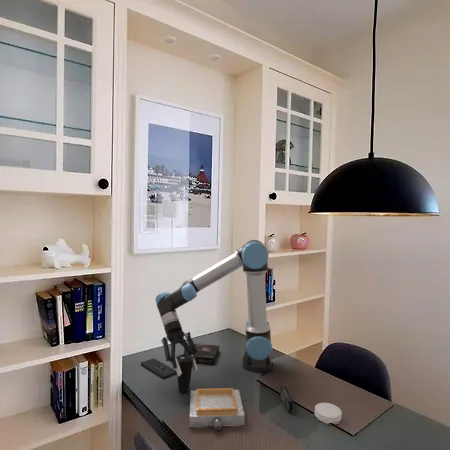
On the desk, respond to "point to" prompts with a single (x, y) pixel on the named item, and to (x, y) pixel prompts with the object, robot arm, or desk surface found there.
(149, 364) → the smart home device
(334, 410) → the coaster
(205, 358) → the portable cd player
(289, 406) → the mobile phone
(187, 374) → the drinking cup
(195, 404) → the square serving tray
